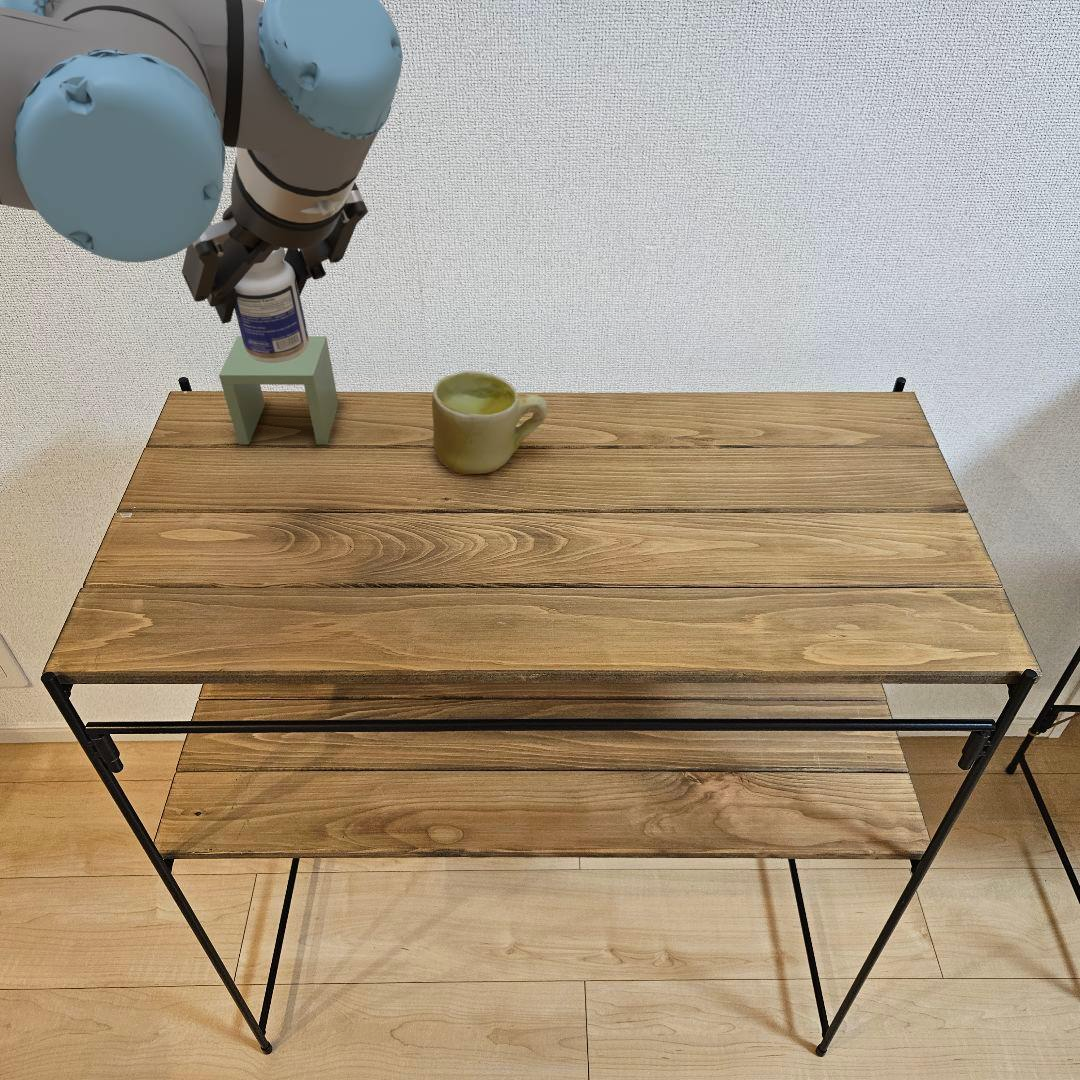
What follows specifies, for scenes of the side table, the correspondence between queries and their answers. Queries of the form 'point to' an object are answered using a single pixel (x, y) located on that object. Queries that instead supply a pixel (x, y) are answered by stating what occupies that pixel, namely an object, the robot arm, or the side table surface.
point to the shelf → (306, 369)
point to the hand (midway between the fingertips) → (254, 298)
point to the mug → (480, 421)
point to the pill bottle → (271, 311)
